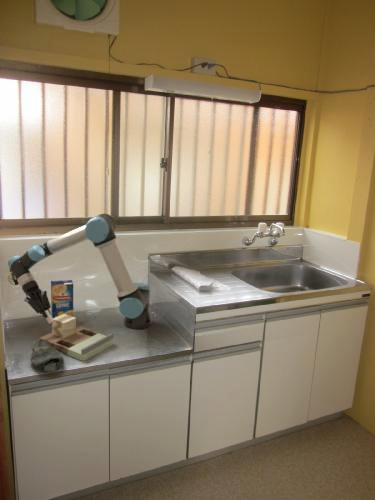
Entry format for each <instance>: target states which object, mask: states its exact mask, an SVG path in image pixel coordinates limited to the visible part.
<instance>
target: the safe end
mask: <svg viewBox="0 0 375 500" xmlns="http://www.w3.org/2000/svg"><path fill="white" fill-rule="evenodd" d="M97 333H98V334H96V335H94V336H92V337H90V338H88V339H86V340H84V341H82V342H80V343H78V344H76V345H74V346H72V347H70V348H68V355H67V356H70V357H72V358H74V359H77V360H80V361H81V362H84V361H86V360H88V359H90V358H91V357H93V356H94V355H96V354H99V353H100V352H102V351H104V350H105V349H107V348H108V347H110V346H113V345H114V333H109V334H108V335H104V334H103V333H99V332H97ZM87 358H88V359H87Z"/></svg>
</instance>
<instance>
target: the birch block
mask: <svg viewBox="0 0 375 500" xmlns="http://www.w3.org/2000/svg"><path fill="white" fill-rule="evenodd" d="M76 325H77V317H75V316H73V317H72V316H69V315H66V314H63V315H60V316H58V317H55V318H53V319H52V323H51V333H52V334H53V335H56V336H59V337H61V338H66V337H68V336H70V335H72V334H75V333H76Z"/></svg>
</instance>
